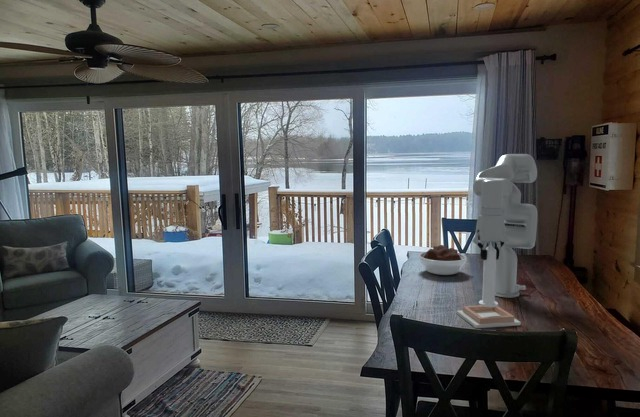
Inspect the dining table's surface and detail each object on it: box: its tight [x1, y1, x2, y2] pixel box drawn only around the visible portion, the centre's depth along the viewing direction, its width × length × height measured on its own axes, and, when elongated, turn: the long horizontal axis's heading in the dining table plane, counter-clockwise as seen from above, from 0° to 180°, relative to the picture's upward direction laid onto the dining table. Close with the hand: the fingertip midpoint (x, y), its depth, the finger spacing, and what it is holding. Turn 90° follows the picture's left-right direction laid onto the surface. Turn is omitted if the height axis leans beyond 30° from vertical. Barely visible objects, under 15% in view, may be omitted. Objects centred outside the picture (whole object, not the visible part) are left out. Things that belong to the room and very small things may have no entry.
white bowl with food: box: [418, 244, 468, 276], centre depth 245 cm, size 25×25×15 cm
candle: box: [478, 242, 499, 307], centre depth 175 cm, size 7×7×25 cm
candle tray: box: [456, 304, 522, 329], centre depth 177 cm, size 18×16×3 cm
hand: (489, 258), depth 174 cm, fingers closed on candle, 4 cm apart
